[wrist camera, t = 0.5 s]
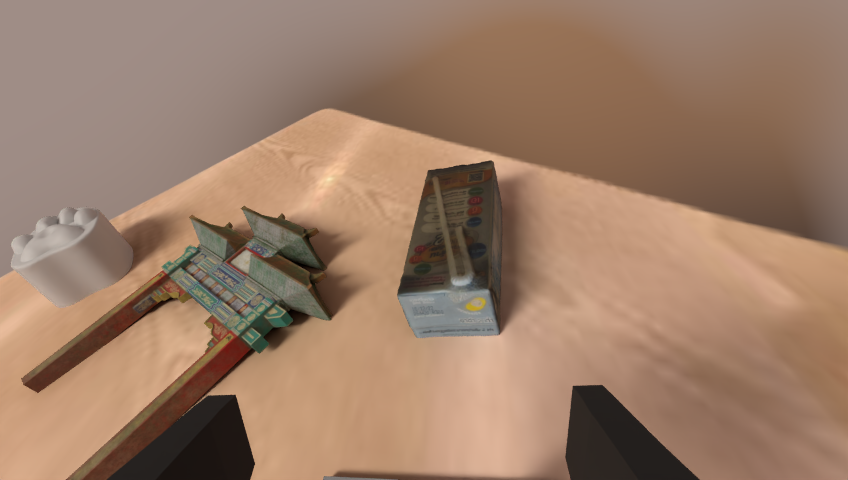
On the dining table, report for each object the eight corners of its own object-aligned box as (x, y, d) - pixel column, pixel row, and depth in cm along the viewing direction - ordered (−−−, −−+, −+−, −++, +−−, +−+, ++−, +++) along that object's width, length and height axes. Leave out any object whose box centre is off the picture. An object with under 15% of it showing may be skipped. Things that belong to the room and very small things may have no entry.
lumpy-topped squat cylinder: (50, 316, 54) (-9, 267, 48) (62, 266, 63) (14, 221, 58) (133, 274, 57) (87, 223, 51) (133, 233, 66) (94, 187, 61)
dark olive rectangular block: (410, 342, 37) (388, 290, 33) (437, 211, 51) (424, 164, 47) (502, 339, 35) (491, 284, 31) (503, 204, 49) (495, 154, 45)
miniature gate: (1, 352, 44) (235, 183, 58) (46, 379, 48) (256, 213, 61) (50, 531, 28) (363, 235, 41) (114, 552, 31) (383, 272, 45)
